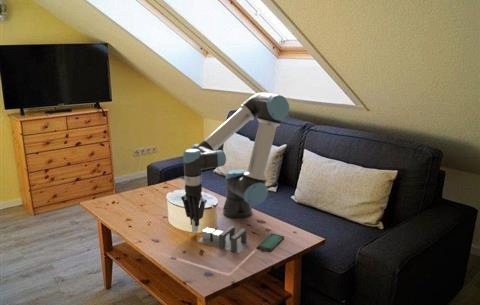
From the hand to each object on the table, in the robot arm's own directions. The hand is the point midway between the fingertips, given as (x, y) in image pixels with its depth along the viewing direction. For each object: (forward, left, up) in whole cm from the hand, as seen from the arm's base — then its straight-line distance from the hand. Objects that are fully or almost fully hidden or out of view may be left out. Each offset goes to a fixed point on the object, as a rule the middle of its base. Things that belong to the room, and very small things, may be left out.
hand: (195, 231), depth 182 cm
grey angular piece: (0, +15, -2) cm, 16 cm away
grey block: (0, +10, -1) cm, 10 cm away
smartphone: (-11, +33, -3) cm, 35 cm away
